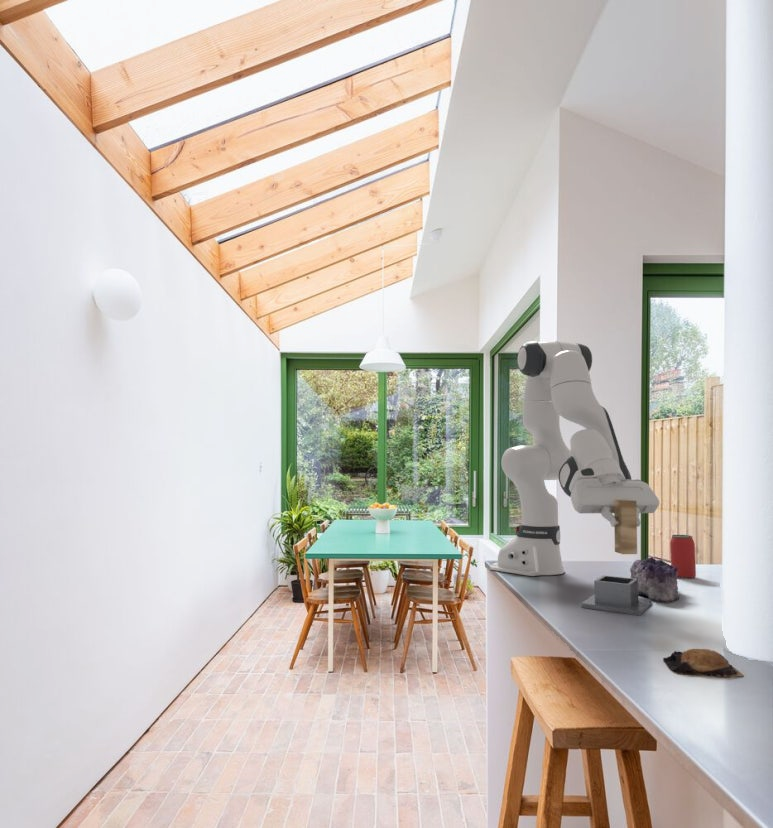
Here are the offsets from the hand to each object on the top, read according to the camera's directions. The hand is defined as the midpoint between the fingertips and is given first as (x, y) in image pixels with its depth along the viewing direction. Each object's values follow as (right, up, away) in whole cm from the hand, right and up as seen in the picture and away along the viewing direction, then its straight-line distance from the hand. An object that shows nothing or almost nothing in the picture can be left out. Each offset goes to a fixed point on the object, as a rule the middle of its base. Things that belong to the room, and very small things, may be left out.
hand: (626, 525), depth 137 cm
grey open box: (0, -20, +6) cm, 21 cm away
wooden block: (0, -6, 0) cm, 6 cm away
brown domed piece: (-2, -18, -37) cm, 41 cm away
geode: (+15, -21, +18) cm, 32 cm away
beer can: (+33, -23, +40) cm, 57 cm away
